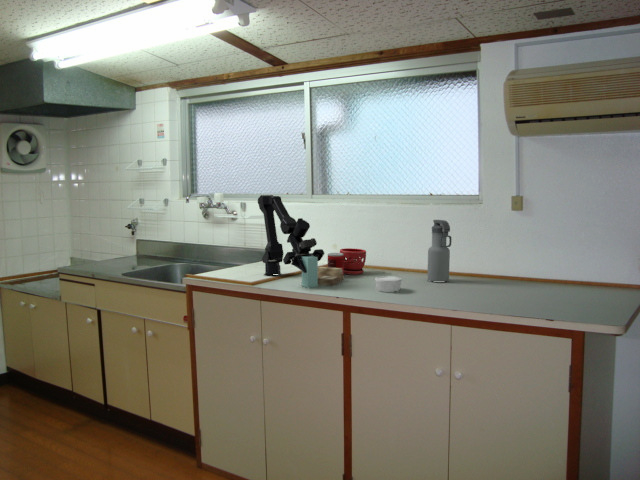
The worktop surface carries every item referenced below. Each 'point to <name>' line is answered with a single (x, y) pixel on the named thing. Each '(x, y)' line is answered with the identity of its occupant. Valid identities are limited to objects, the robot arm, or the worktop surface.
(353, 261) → the plant pot
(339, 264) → the canned food
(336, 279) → the baseplate
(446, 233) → the water bottle
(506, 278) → the worktop surface
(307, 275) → the column
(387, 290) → the ramekin
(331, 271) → the beam
